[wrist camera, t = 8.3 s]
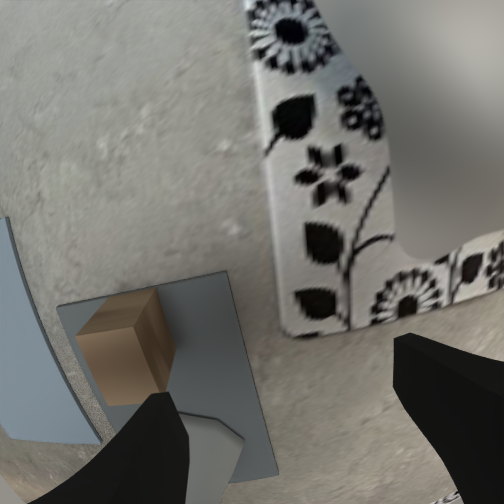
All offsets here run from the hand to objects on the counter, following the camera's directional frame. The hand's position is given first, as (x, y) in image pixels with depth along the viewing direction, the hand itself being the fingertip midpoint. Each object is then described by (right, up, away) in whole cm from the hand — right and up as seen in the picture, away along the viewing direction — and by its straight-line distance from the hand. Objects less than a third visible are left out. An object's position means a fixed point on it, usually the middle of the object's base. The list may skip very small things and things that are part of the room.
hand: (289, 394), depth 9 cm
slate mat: (-20, -3, +9) cm, 22 cm away
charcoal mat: (-6, -6, +11) cm, 14 cm away
